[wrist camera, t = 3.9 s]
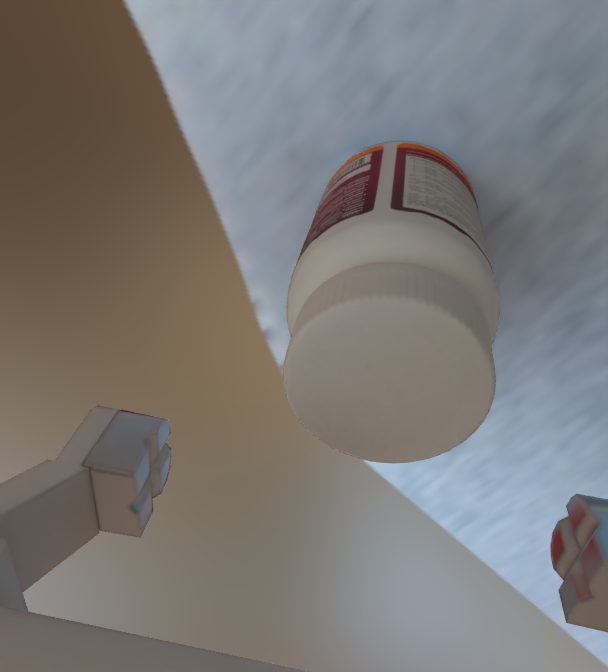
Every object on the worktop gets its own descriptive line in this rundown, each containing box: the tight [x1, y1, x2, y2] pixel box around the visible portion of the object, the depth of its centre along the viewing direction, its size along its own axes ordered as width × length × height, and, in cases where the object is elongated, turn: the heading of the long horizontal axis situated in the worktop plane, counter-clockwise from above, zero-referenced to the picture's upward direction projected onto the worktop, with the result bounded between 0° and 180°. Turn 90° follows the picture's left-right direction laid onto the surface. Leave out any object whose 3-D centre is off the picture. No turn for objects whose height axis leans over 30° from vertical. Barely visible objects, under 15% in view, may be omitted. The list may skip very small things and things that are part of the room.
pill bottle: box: [283, 141, 500, 463], centre depth 18 cm, size 6×6×11 cm
